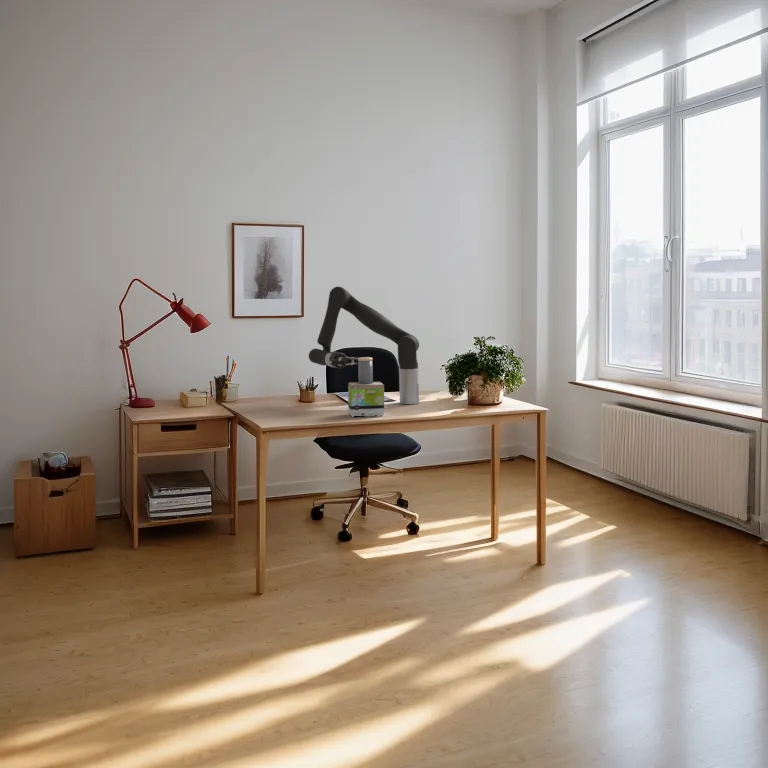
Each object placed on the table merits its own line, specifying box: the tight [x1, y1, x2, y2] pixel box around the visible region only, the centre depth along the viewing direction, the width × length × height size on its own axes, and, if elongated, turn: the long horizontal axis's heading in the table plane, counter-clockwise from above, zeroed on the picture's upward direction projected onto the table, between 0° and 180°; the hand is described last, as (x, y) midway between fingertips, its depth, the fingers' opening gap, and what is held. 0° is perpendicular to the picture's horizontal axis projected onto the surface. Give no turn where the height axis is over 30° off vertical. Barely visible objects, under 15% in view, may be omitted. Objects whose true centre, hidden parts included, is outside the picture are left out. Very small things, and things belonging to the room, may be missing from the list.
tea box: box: [347, 381, 385, 418], centre depth 364 cm, size 15×10×15 cm
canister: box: [357, 356, 374, 384], centre depth 363 cm, size 7×7×11 cm
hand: (353, 362), depth 371 cm, fingers open, 8 cm apart
